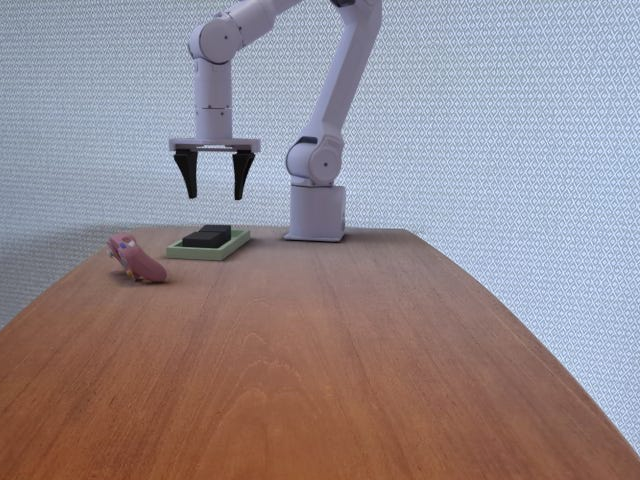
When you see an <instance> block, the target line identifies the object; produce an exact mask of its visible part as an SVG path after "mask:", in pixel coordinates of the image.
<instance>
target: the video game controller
mask: <svg viewBox="0 0 640 480" xmlns="http://www.w3.org/2000/svg"><path fill="white" fill-rule="evenodd" d="M106 243H107V246H108V249H109V250H106V253H107V256H108V257H109V258H111V259H113V258H115V259H116V260H117V262H119V264H120V265H121V267H122V269H124V271H125V272H126V275H127V276H129V277H131V278H132V279H133V280H134V281H136V280H138V279H140V278H141V277H142V278H144V279H146V280H148V281H150V282H154V283H163V282H164V281H166V278H167V270H166V269H165V267H164V266H163V265H162V264H161V263H160V262H158V261H157V260H155V259H153V258H152V257H150V256H149V255H148V254H147V253H146V252H145V251H144V250H143V248H142V247H141V246H140V245H139V243H137V240H136V238H135V237H134V236H133V235H131V234H129V233H124V232H120V233H115V234H114V235H112V236H110V237H109V239H108V240H107V241H106Z"/></svg>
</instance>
